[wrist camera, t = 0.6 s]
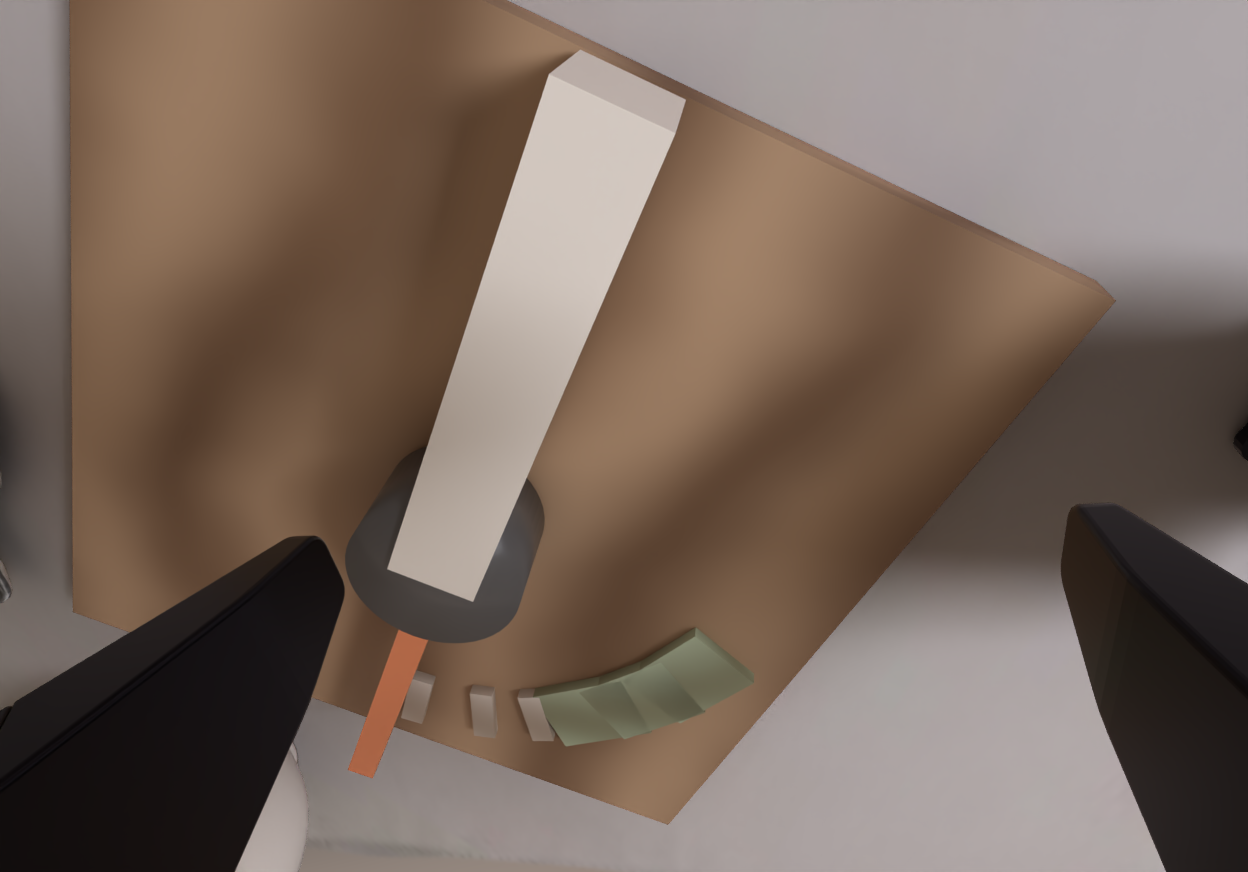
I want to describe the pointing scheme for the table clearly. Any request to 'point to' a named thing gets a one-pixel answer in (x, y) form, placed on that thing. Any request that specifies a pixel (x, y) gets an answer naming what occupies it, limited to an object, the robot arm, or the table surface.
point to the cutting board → (591, 403)
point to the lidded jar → (280, 824)
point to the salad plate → (4, 577)
